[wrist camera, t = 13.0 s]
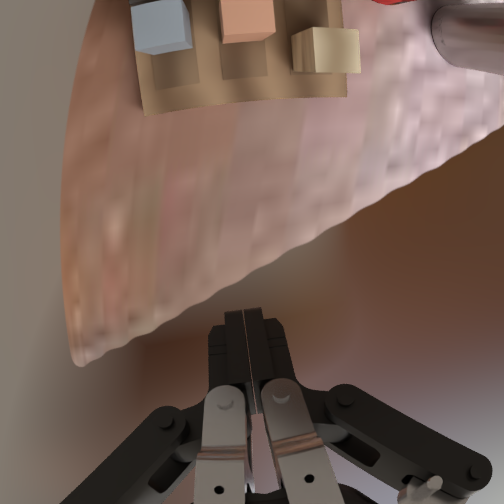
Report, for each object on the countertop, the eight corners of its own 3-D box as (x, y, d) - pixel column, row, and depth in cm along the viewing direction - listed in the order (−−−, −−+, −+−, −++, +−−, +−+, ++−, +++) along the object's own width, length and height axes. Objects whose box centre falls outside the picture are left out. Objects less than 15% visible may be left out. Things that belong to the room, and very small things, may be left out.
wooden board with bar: (331, -29, 25) (345, -39, 21) (340, 95, 33) (356, 99, 29) (132, -14, 24) (122, -24, 20) (148, 114, 32) (139, 120, 29)
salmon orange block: (258, 6, 25) (271, -12, 18) (262, 40, 27) (275, 31, 21) (218, 9, 25) (219, -9, 18) (222, 43, 27) (224, 35, 20)
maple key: (327, 36, 27) (358, 29, 21) (329, 71, 30) (360, 73, 23) (290, 36, 27) (312, 27, 21) (293, 71, 29) (315, 72, 23)
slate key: (189, 13, 25) (180, -4, 18) (192, 48, 27) (185, 40, 20) (150, 20, 25) (130, 7, 18) (153, 55, 27) (135, 50, 20)
